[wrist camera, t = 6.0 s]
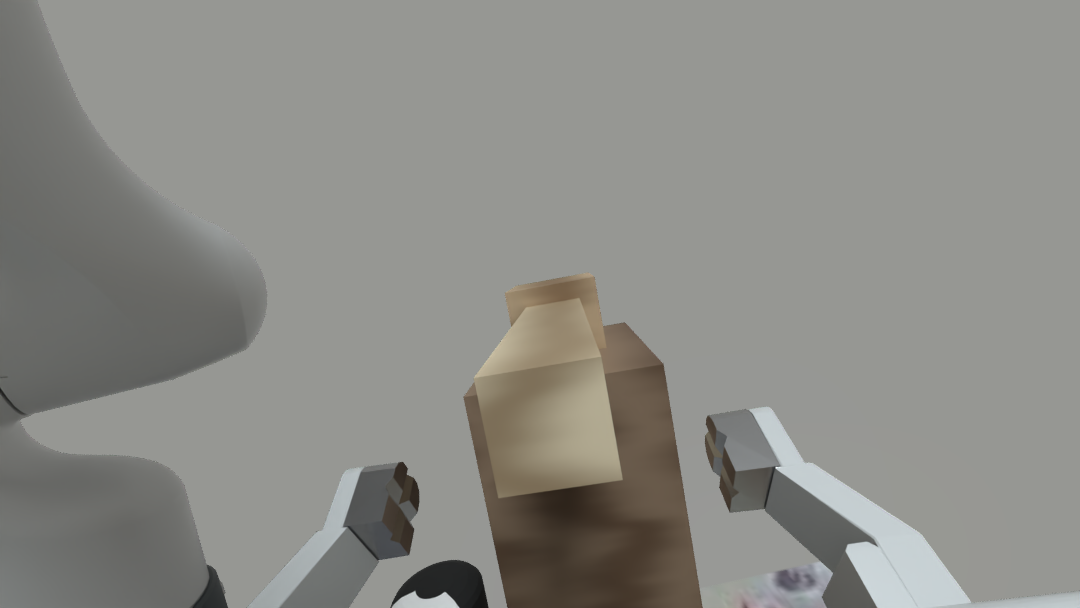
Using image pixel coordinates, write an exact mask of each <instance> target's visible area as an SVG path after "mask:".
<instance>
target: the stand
mask: <svg viewBox="0 0 1080 608" xmlns="http://www.w3.org/2000/svg"><path fill="white" fill-rule="evenodd" d="M603 330H604V335H605V341H606V347H607V348H603V349H599V352H600V355H601V358H602V364H603V369H604V375H605V381H606V387H607V392H608V398H609V404H610V409H611V415H612V421H613V427H614V432H615V438H616V444H617V450H618V455H619V461H620V467H621V472H622V478H623V480H619V481H612V482H605V483H599V484H592V485H585V486H578V487H571V488H565V489H558V490H551V491H544V492H537V493H531V494H524V495H517V496H510V497H503V498H498V494H497V489H496V484H495V479H494V474H493V469H492V465H491V460H490V455H489V450H488V445H487V440H486V435H485V430H484V426H483V421H482V416H481V411H480V406H479V401H478V396H477V392H476V387H475V382H474V383H473V385H472V386H471V388H470V389H469V390H468V392H467V393H466V395H465V396H464V401H465V406H466V411H467V416H468V421H469V426H470V430H471V435H472V440H473V444H474V450H475V454H476V459H477V464H478V469H479V473H480V478H481V483H482V488H483V492H484V497H485V502H486V507H487V512H488V516H489V521H490V526H491V531H492V535H493V540H494V545H495V550H496V555H497V560H498V564H499V569H500V574H501V579H502V583H503V588H504V593H505V598H506V603H507V607H508V608H703V607H702V601H701V595H700V589H699V582H698V576H697V570H696V564H695V558H694V551H693V545H692V539H691V533H690V526H689V520H688V514H687V508H686V502H685V495H684V489H683V483H682V477H681V471H680V464H679V458H678V452H677V446H676V440H675V433H674V427H673V421H672V415H671V409H670V402H669V396H668V390H667V383H666V377H665V371H664V365H663V363H662V362H661V361H660V360H659V359H658V358H657V357H656V356H655V354H654V353H653V352H651V350H650V349H649V348H648V347H647V346H646V345H645V344H644V343H643V342H642V340H641V339H640V338H639V337H638V336H637V335H636V334H635V333H634V332H633V331H632V330H631V329H630V327H629V326H628V325H627V324H626V323H619V324H614V325H607V326H603Z"/></svg>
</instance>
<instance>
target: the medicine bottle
mask: <svg viewBox="0 0 1080 608" xmlns="http://www.w3.org/2000/svg"><path fill="white" fill-rule="evenodd" d="M391 608H488V603H487V599H486V593H485V589H484V584H483V579H482V576H481V573H480V572H479V570H478V569H477V568H476V567H474V566H473V565H471V564H469V563H467V562H464V561H460V560H449V561H443V562H439V563H436V564H433V565H431V566H428V567H426V568H424V569H422V570H421V571H419V572H417V573H416V574H415V575H413V576H412V577H411V578H410V579H408V580H407V581H406V582H405V583H404V584H403V586H402V587H401V588H400V589H399V591H398V592H397V595H396V596H395V598H394V600H393V602H392V605H391Z"/></svg>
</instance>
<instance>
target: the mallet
mask: <svg viewBox="0 0 1080 608" xmlns="http://www.w3.org/2000/svg"><path fill="white" fill-rule="evenodd" d="M505 296H506V302H507V306H508V312H509V317H510V322H511V328H510V330H509V331H508V333H507V334H506V335H505V337H504V338H503V339H502V341H501V342H500V343H499V345H498V346H497V347H496V349H495V350H494V352H493V353H492V354H491V356H490V357H489V358H488V360H487V361H486V362H485V364H484V365H483V366H482V368H481V369H480V370H479V372H478V373H477V374H476V376H475V377H474V382H475V387H476V392H477V396H478V401H479V406H480V411H481V416H482V421H483V426H484V430H485V435H486V440H487V445H488V450H489V455H490V460H491V465H492V469H493V474H494V479H495V484H496V489H497V494H498V498H503V497H510V496H517V495H524V494H531V493H537V492H544V491H551V490H558V489H565V488H571V487H578V486H585V485H592V484H599V483H605V482H612V481H619V480H623V478H622V472H621V467H620V461H619V455H618V450H617V444H616V438H615V432H614V427H613V421H612V415H611V409H610V404H609V398H608V392H607V387H606V381H605V375H604V369H603V364H602V358H601V355H600V352H599V349H603V348H607V347H606V341H605V335H604V330H603V324H602V318H601V312H600V307H599V301H598V295H597V289H596V283H595V278H594V276H592V275H591V274H589V273H585V274H578V275H573V276H568V277H562V278H557V279H551V280H546V281H541V282H535V283H530V284H524V285H518V286H515V287H514V288H512V289H511V290H509V291H508V292H506V293H505Z"/></svg>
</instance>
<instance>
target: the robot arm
mask: <svg viewBox="0 0 1080 608" xmlns="http://www.w3.org/2000/svg"><path fill="white" fill-rule="evenodd" d="M266 307H267V291H266V285H265V281H264V277H263V275H262V272H261V269H260V267H259V266H258V264H257V262H256V260H255V259H254V257H253V256H252V254H251V253H250V252H249V251H248V249H247V248H246V247H245V246H244V245H243V244H242V243H241V242H240V241H239V240H238V239H237V238H235V237H234V236H233V235H232V234H230V233H229V232H228V231H226V230H225V229H223V228H221V227H220V226H218V225H216V224H214V223H212V222H209V221H207V220H205V219H202V218H200V217H198V216H196V215H194V214H192V213H190V212H188V211H186V210H184V209H183V208H181V207H179V206H177V205H176V204H174V203H172V202H171V201H169V200H168V199H166V198H164V197H163V196H162V195H160V194H159V193H158V192H156V191H155V190H154V189H152V188H151V187H150V186H148V185H147V184H146V183H145V182H144V181H142V180H141V179H140V178H139V177H138V176H137V175H136V174H134V173H133V172H132V171H131V170H130V169H129V168H128V167H127V166H126V165H125V164H124V163H123V162H122V161H121V160H120V159H119V158H118V157H117V156H116V155H115V153H114V152H113V151H112V150H111V149H110V148H109V146H108V145H107V144H106V143H105V142H104V140H103V139H102V137H101V136H100V135H99V133H98V132H97V130H96V129H95V128H94V126H93V125H92V123H91V121H90V120H89V118H88V117H87V115H86V114H85V112H84V110H83V108H82V107H81V105H80V103H79V101H78V99H77V97H76V95H75V93H74V91H73V88H72V86H71V84H70V82H69V79H68V77H67V74H66V73H65V70H64V68H63V65H62V63H61V61H60V58H59V56H58V54H57V51H56V48H55V46H54V43H53V41H52V39H51V36H50V34H49V31H48V29H47V26H46V23H45V21H44V18H43V15H42V12H41V10H40V7H39V4H38V1H37V0H0V608H228V607H227V603H226V600H225V596H224V594H225V590H224V587H223V584H222V583H221V582H220V580H219V578H218V575H217V573H216V570H215V569H214V568H213V567H211V566H209V565H206V561H205V558H204V554H203V551H202V547H201V543H200V540H199V536H198V533H197V529H196V525H195V522H194V518H193V515H192V511H191V508H190V504H189V501H188V497H187V493H186V490H185V486H184V484H183V482H182V481H181V479H180V478H179V477H178V476H177V475H176V474H175V473H174V472H173V471H172V470H170V469H169V468H168V467H166V466H164V465H162V464H160V463H158V462H155V461H152V460H147V459H143V458H138V457H130V456H117V455H77V454H67V453H61V452H58V451H54V450H52V449H49V448H47V447H45V446H43V445H41V444H40V443H38V442H37V441H35V440H34V439H33V438H32V437H31V436H30V435H29V434H28V433H27V432H26V431H25V429H24V428H23V426H22V424H21V422H20V420H21V419H22V418H25V417H28V416H31V415H32V414H34V413H39V412H43V411H47V410H51V409H55V408H59V407H63V406H67V405H71V404H75V403H79V402H83V401H88V400H92V399H96V398H100V397H104V396H108V395H112V394H116V393H120V392H124V391H128V390H132V389H136V388H140V387H144V386H149V385H153V384H157V383H161V382H165V381H169V380H173V379H176V378H178V377H181V376H183V375H186V374H188V373H191V372H194V371H196V370H199V369H201V368H204V367H206V366H209V365H211V364H213V363H216V362H218V361H221V360H223V359H225V358H228V357H230V356H232V355H235V354H237V353H239V352H241V351H244V350H246V349H247V348H248V347H249V345H250V344H251V343H252V342H253V340H254V339H255V337H256V335H257V334H258V332H259V330H260V328H261V326H262V323H263V320H264V317H265V313H266ZM706 425H707V428H708V430H709V432H708V433H707V434H706V435H705V446H706V452H707V456H708V459H709V462H710V465H711V468H712V470H713V472H715V473H716V474H717V475H719V476H720V487H719V488H720V490H721V492H722V495H723V497H724V500H725V502H726V505H727V507H728V509H729V512H740V511H749V510H758V509H765V511H766V512H767V513H768V514H769V515H770V516H771V517H772V518H773V519H775V520H776V521H777V522H778V523H779V524H780V525H781V526H782V527H783V528H784V529H786V530H787V531H788V532H789V533H790V534H791V535H792V536H793V537H794V538H795V539H797V540H798V541H799V542H800V543H801V544H802V545H803V546H804V547H806V548H807V549H808V550H809V551H810V552H811V553H812V554H813V555H814V556H815V557H817V558H818V559H819V560H820V561H821V562H822V563H823V564H824V565H825V566H826V567H827V568H829V569H830V570H831V571H832V572H833V575H832V577H831V579H830V581H829V583H828V585H827V587H826V589H825V591H824V594H823V596H822V598H823V600H824V603H825V605H826V607H827V608H1080V591H1072V592H1063V593H1054V594H1045V595H1036V596H1027V597H1018V598H1009V599H1000V600H992V601H983V602H974V603H972V602H971V601H970V600H969V598H968V597H967V596H966V594H965V593H964V592H963V590H962V589H961V588H960V586H959V585H958V583H957V582H956V581H955V579H954V578H953V577H952V575H951V574H950V573H949V571H948V570H947V569H946V567H945V566H944V564H943V563H942V562H941V561H940V559H939V558H938V556H937V555H936V554H935V552H934V551H933V550H932V548H931V547H930V545H929V544H928V543H927V541H926V540H925V539H924V537H923V536H922V535H921V533H919V532H917V531H916V530H914V529H913V528H911V527H909V526H908V525H907V524H905V523H904V522H902V521H900V520H899V519H897V518H896V517H894V516H893V515H891V514H890V513H888V512H887V511H885V510H884V509H882V508H881V507H879V506H878V505H876V504H875V503H873V502H871V501H870V500H868V499H867V498H865V497H864V496H862V495H861V494H859V493H858V492H856V491H855V490H853V489H851V488H850V487H848V486H847V485H845V484H844V483H842V482H841V481H839V480H838V479H836V478H834V477H833V476H832V475H830V474H828V473H827V472H825V471H824V470H822V469H821V468H819V467H818V466H816V465H815V464H813V463H811V462H810V463H805V462H804V460H803V459H802V457H801V456H800V454H799V453H798V451H797V449H796V448H795V446H794V444H793V442H792V441H791V439H790V438H789V436H788V434H787V433H786V431H785V429H784V428H783V426H782V425H781V423H780V421H779V420H778V418H777V416H776V415H775V413H774V411H773V410H772V409H771V408H769V407H760V408H755V409H749V410H746V409H744V410H738V411H732V412H726V413H720V414H714V415H709V416H708V417H707V419H706ZM407 470H408V468H407V467H406V465H405V464H404V463H403V462H398V463H391V464H384V465H376V466H369V467H360V468H353V469H347V470H346V471H345V473H344V474H343V475H342V477H341V480H340V483H339V486H338V489H337V491H336V494H335V497H334V499H333V502H332V505H331V508H330V510H329V513H328V516H327V519H326V521H325V524H324V527H323V530H321V531H317V532H316V533H315V534H314V535H313V536H312V537H311V538H310V539H309V541H307V543H306V544H305V545H304V546H303V547H302V548H301V549H300V550H299V551H298V552H297V554H295V556H294V557H293V558H292V559H291V560H290V561H289V562H288V563H287V564H286V565H285V566H284V568H283V569H282V570H281V571H280V572H279V573H278V574H277V575H276V576H275V577H274V579H272V581H271V582H270V583H269V584H268V585H267V586H266V587H265V588H264V589H263V590H262V592H260V594H259V595H258V596H257V597H256V598H255V599H254V600H253V601H252V602H251V603H250V604H249V605H248V607H247V608H349V606H350V605H351V603H352V602H353V600H354V599H355V597H356V596H357V594H358V592H359V591H360V590H361V588H362V587H363V585H364V584H365V582H366V581H367V579H368V578H369V576H370V575H371V573H372V572H373V570H374V569H375V567H376V566H377V564H378V562H379V561H378V560H382V559H388V558H394V557H400V556H406V555H409V553H410V548H411V543H412V538H413V533H414V528H413V526H412V524H411V522H410V521H411V520H412V519H413V518H414V516H415V515H416V514H417V512H418V507H419V489H418V485H417V483H416V481H415V479H414V478H413V477H411V476H409V475H407Z"/></svg>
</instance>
